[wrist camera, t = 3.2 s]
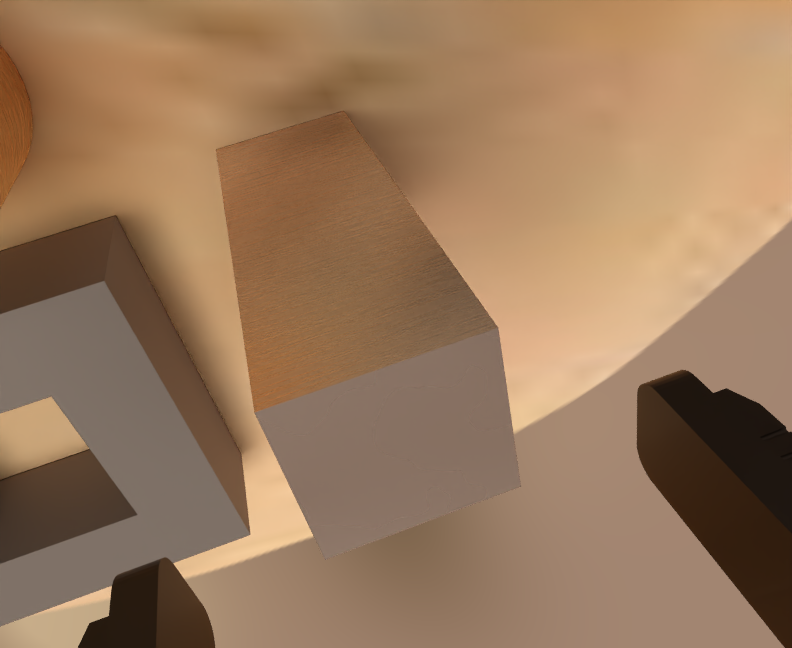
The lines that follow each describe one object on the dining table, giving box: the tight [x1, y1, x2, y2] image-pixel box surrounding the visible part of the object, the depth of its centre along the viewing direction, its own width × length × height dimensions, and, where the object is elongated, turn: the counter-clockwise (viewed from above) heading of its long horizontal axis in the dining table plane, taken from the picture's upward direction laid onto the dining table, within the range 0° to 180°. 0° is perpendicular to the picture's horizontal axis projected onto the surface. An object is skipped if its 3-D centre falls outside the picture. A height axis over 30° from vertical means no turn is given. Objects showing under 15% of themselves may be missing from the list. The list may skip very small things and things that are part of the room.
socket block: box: [0, 216, 250, 626], centre depth 21 cm, size 11×11×4 cm
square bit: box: [216, 111, 521, 560], centre depth 16 cm, size 4×4×12 cm
